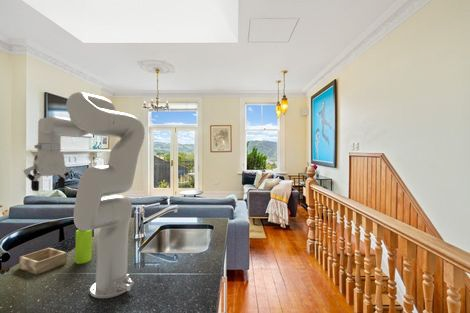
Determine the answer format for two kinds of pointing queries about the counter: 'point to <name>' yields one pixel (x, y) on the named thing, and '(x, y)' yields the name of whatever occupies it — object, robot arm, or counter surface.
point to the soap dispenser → (83, 246)
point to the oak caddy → (42, 260)
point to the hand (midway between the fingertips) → (48, 189)
